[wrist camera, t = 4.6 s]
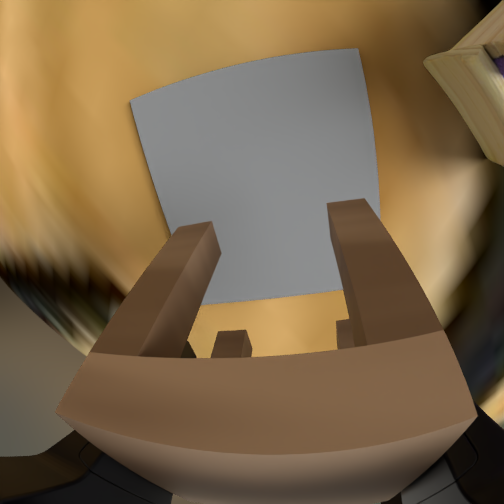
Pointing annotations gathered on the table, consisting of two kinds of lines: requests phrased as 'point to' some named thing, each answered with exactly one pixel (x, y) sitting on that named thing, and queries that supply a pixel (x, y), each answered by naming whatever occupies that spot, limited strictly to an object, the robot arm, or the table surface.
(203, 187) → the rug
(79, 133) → the table surface
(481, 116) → the toy sofa
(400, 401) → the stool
